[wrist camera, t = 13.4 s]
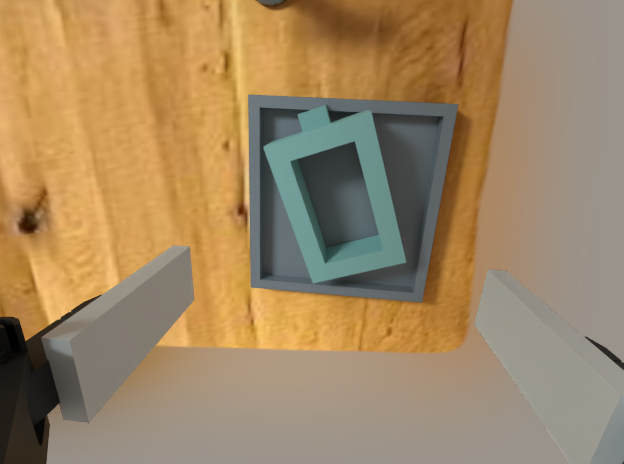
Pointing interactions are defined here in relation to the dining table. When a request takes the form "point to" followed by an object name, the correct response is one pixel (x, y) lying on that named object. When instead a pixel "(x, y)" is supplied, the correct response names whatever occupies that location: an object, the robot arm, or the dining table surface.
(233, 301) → the dining table surface
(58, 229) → the dining table surface
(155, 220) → the dining table surface
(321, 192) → the tray
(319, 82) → the dining table surface
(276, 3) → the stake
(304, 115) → the ring frame
